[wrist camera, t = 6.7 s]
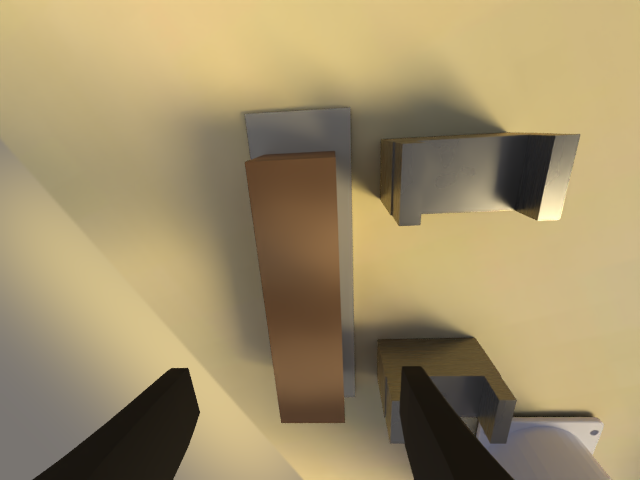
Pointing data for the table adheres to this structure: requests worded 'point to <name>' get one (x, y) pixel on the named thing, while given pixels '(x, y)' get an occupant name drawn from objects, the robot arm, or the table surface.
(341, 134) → the mat
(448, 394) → the post
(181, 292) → the table surface
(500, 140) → the post
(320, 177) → the rail
